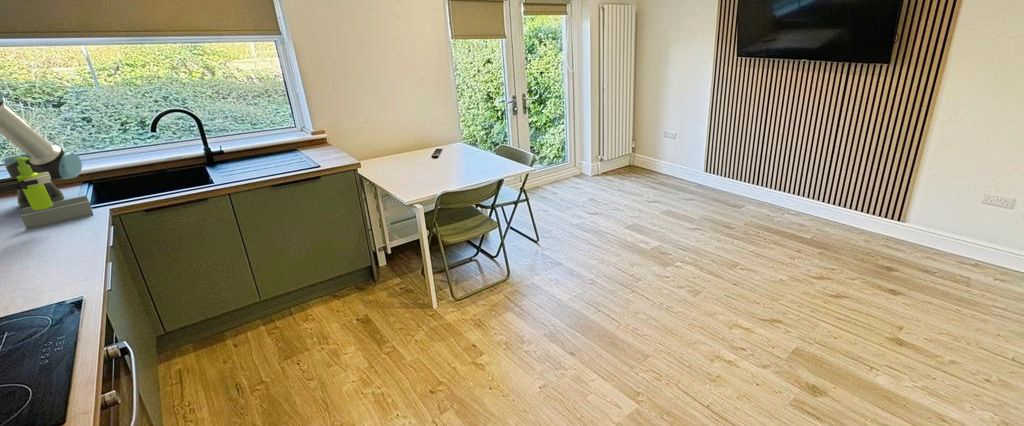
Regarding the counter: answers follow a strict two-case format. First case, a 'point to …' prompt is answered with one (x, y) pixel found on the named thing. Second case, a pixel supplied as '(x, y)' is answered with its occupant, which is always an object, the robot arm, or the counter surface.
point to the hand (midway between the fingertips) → (49, 176)
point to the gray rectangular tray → (57, 212)
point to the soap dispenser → (35, 193)
